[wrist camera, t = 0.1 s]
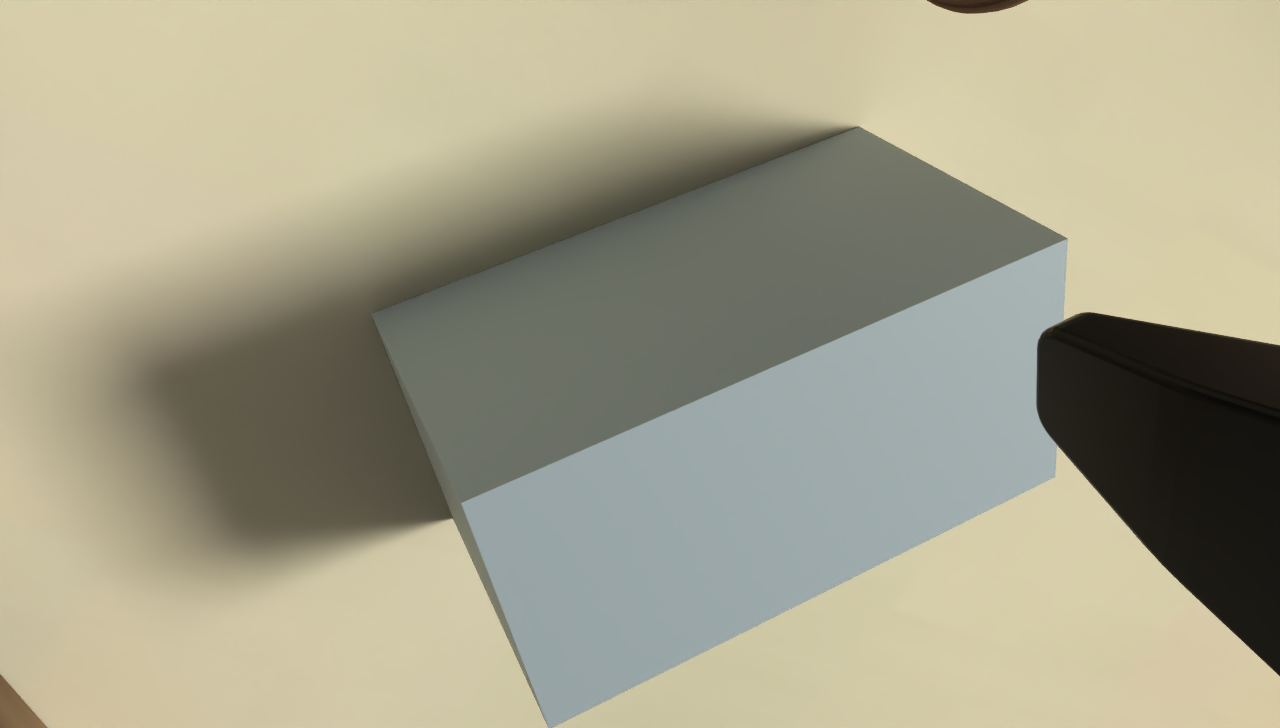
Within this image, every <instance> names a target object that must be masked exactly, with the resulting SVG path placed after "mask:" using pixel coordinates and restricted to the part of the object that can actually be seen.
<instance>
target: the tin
mask: <svg viewBox="0 0 1280 728" xmlns="http://www.w3.org/2000/svg"><path fill="white" fill-rule="evenodd" d="M927 1H929V2H931V3H933V4H934V5H936V6H939V7H942V8H944V9H947V10H950V11H954V12H959V13H967V14H968V13H987V12H995V11H1000V10H1004V9H1007V8H1011V7H1014V6H1017V5H1019V4H1021V3H1023V2H1025V1H1028V0H927Z"/></svg>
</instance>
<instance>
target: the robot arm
mask: <svg viewBox="0 0 1280 728" xmlns="http://www.w3.org/2000/svg"><path fill="white" fill-rule="evenodd" d="M1036 408H1037V412H1038V416H1039V419H1040V421H1041V424H1042V426H1043V427H1044V429H1045V431H1046V432H1047V433H1048V435H1049V436H1050V437H1051V439H1052V440H1053V441H1054V442H1055V443H1056V444H1057V445H1058V447H1059V448H1060V449H1061V450H1062V451H1063V452H1064V453H1065V455H1066V456H1067V457H1068V458H1069V459H1070V460H1071V462H1072V463H1073V464H1074V465H1075V466H1076V467H1077V468H1078V470H1079V471H1080V472H1081V473H1082V474H1083V475H1084V476H1085V478H1086V479H1087V480H1088V481H1089V482H1090V483H1091V485H1092V486H1093V487H1094V488H1095V489H1096V490H1097V491H1098V493H1099V494H1100V495H1101V496H1102V497H1103V498H1104V499H1105V501H1106V502H1107V503H1108V504H1109V505H1110V506H1111V508H1112V509H1113V510H1114V511H1115V512H1116V513H1117V514H1118V516H1119V517H1120V518H1121V519H1122V520H1123V521H1124V523H1125V524H1126V525H1127V526H1128V527H1129V528H1130V529H1131V531H1132V532H1133V533H1134V534H1135V535H1136V536H1137V537H1138V539H1139V540H1140V541H1141V542H1142V543H1143V544H1144V545H1145V547H1146V548H1147V549H1148V550H1149V551H1150V552H1151V553H1152V554H1153V555H1154V556H1155V557H1156V558H1157V559H1158V561H1159V562H1160V563H1161V564H1162V565H1163V566H1164V567H1165V568H1166V569H1167V570H1168V571H1169V572H1170V573H1171V574H1172V575H1173V576H1174V577H1175V578H1176V579H1177V580H1178V581H1179V582H1180V583H1181V584H1182V585H1183V586H1184V587H1185V588H1186V589H1188V590H1189V591H1190V592H1191V593H1192V594H1193V595H1194V596H1195V597H1196V598H1197V599H1198V600H1199V601H1200V602H1201V603H1202V604H1203V605H1205V606H1206V607H1207V608H1208V609H1209V610H1210V611H1211V612H1212V613H1213V614H1214V615H1215V616H1216V617H1217V618H1218V619H1219V620H1221V621H1222V622H1223V623H1224V624H1225V625H1226V626H1227V627H1228V628H1229V629H1230V630H1231V631H1232V632H1233V633H1234V634H1235V635H1237V636H1238V637H1239V638H1240V639H1241V640H1242V641H1243V642H1244V643H1245V644H1246V645H1247V646H1248V647H1249V648H1250V649H1251V650H1252V651H1254V652H1255V653H1256V654H1257V655H1258V656H1259V657H1260V658H1261V659H1262V660H1263V661H1264V662H1265V663H1266V664H1267V665H1268V666H1270V667H1271V668H1272V669H1273V670H1274V671H1275V672H1276V673H1277V674H1278V675H1279V676H1280V345H1275V344H1269V343H1263V342H1257V341H1252V340H1246V339H1240V338H1235V337H1229V336H1223V335H1218V334H1212V333H1206V332H1201V331H1195V330H1189V329H1184V328H1178V327H1172V326H1167V325H1161V324H1155V323H1149V322H1144V321H1138V320H1132V319H1127V318H1121V317H1115V316H1110V315H1104V314H1098V313H1091V312H1085V313H1080V314H1076V315H1074V316H1072V317H1070V318H1068V319H1066V320H1064V321H1062V322H1060V323H1057V324H1055V325H1053V326H1051V327H1049V328H1047V329H1046V330H1045V331H1044V332H1042V334H1041V336H1040V338H1039V340H1038V344H1037V378H1036Z"/></svg>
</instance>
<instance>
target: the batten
mask: <svg viewBox="0 0 1280 728" xmlns="http://www.w3.org/2000/svg"><path fill="white" fill-rule="evenodd" d="M0 728H47V727H46V726H45V725H44V724H43V722H42V721H41V720H40V719H39V718H38V717H37V716H36V714H35V713H34V712H33V711H32V710H31V709H30V708H29V706H28V705H27V704H26V703H25V702H24V701H23V700H22V699H21V697H20V696H19V695H18V694H17V693H16V692H15V691H14V689H13V688H12V687H11V686H10V685H9V684H8V683H7V681H6V680H5V679H4V678H3V677H2V676H1V675H0Z"/></svg>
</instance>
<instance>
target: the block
mask: <svg viewBox="0 0 1280 728" xmlns="http://www.w3.org/2000/svg"><path fill="white" fill-rule="evenodd" d="M1067 241H1068V239H1067V238H1066V237H1064V236H1062V235H1060V234H1058V233H1056V232H1054V231H1052V230H1051V229H1049V228H1047V227H1045V226H1043V225H1041V224H1039V223H1038V222H1036V221H1034V220H1032V219H1030V218H1028V217H1026V216H1025V215H1023V214H1021V213H1019V212H1017V211H1015V210H1013V209H1012V208H1010V207H1008V206H1006V205H1004V204H1002V203H1000V202H999V201H997V200H995V199H993V198H991V197H989V196H987V195H985V194H984V193H982V192H980V191H978V190H976V189H974V188H972V187H971V186H969V185H967V184H965V183H963V182H961V181H959V180H958V179H956V178H954V177H952V176H950V175H948V174H946V173H945V172H943V171H941V170H939V169H937V168H935V167H933V166H931V165H930V164H928V163H926V162H924V161H922V160H920V159H918V158H917V157H915V156H913V155H911V154H909V153H907V152H905V151H904V150H902V149H900V148H898V147H896V146H894V145H892V144H891V143H889V142H887V141H885V140H883V139H881V138H879V137H878V136H876V135H874V134H872V133H870V132H868V131H866V130H864V129H863V128H861V127H856V128H854V129H851V130H849V131H846V132H843V133H841V134H838V135H836V136H833V137H830V138H828V139H825V140H822V141H820V142H817V143H815V144H812V145H809V146H807V147H804V148H802V149H799V150H796V151H794V152H791V153H789V154H786V155H783V156H781V157H778V158H776V159H773V160H770V161H768V162H765V163H763V164H760V165H757V166H755V167H752V168H750V169H747V170H744V171H742V172H739V173H737V174H734V175H731V176H729V177H726V178H723V179H721V180H718V181H716V182H713V183H710V184H708V185H705V186H703V187H700V188H697V189H695V190H692V191H690V192H687V193H684V194H682V195H679V196H677V197H674V198H671V199H669V200H666V201H664V202H661V203H658V204H656V205H653V206H651V207H648V208H645V209H643V210H640V211H638V212H635V213H632V214H630V215H627V216H624V217H622V218H619V219H617V220H614V221H611V222H609V223H606V224H604V225H601V226H598V227H596V228H593V229H591V230H588V231H585V232H583V233H580V234H578V235H575V236H572V237H570V238H567V239H565V240H562V241H559V242H557V243H554V244H552V245H549V246H546V247H544V248H541V249H539V250H536V251H533V252H531V253H528V254H525V255H523V256H520V257H518V258H515V259H512V260H510V261H507V262H505V263H502V264H499V265H497V266H494V267H492V268H489V269H486V270H484V271H481V272H479V273H476V274H473V275H471V276H468V277H466V278H463V279H460V280H458V281H455V282H453V283H450V284H447V285H445V286H442V287H440V288H437V289H434V290H432V291H429V292H426V293H424V294H421V295H419V296H416V297H413V298H411V299H408V300H406V301H403V302H400V303H398V304H395V305H393V306H390V307H387V308H385V309H382V310H380V311H377V312H374V313H372V314H371V315H372V317H373V320H374V322H375V325H376V327H377V330H378V332H379V335H380V337H381V340H382V342H383V345H384V347H385V350H386V352H387V355H388V357H389V360H390V362H391V365H392V367H393V370H394V372H395V375H396V377H397V380H398V382H399V385H400V387H401V390H402V392H403V395H404V397H405V400H406V402H407V405H408V407H409V410H410V412H411V415H412V417H413V420H414V422H415V425H416V427H417V430H418V432H419V435H420V437H421V440H422V442H423V445H424V447H425V450H426V452H427V455H428V457H429V460H430V462H431V465H432V467H433V470H434V472H435V475H436V477H437V480H438V482H439V485H440V487H441V490H442V492H443V495H444V497H445V500H446V502H447V505H448V507H449V510H450V512H451V515H452V517H453V519H454V522H455V524H456V526H457V528H458V530H459V533H460V535H461V537H462V539H463V541H464V544H465V546H466V548H467V550H468V552H469V555H470V557H471V559H472V561H473V563H474V566H475V568H476V570H477V572H478V574H479V577H480V579H481V581H482V583H483V585H484V587H485V590H486V592H487V594H488V596H489V598H490V601H491V603H492V605H493V607H494V609H495V612H496V614H497V616H498V618H499V620H500V623H501V625H502V627H503V629H504V631H505V634H506V636H507V638H508V640H509V642H510V644H511V647H512V649H513V651H514V653H515V655H516V658H517V660H518V662H519V664H520V666H521V669H522V671H523V673H524V675H525V677H526V680H527V682H528V684H529V686H530V688H531V691H532V693H533V695H534V697H535V699H536V702H537V704H538V706H539V708H540V710H541V712H542V715H543V717H544V719H545V721H546V723H547V726H548V728H552V727H554V726H556V725H558V724H560V723H562V722H564V721H566V720H569V719H571V718H573V717H575V716H577V715H579V714H581V713H583V712H585V711H587V710H589V709H591V708H593V707H595V706H597V705H599V704H601V703H603V702H605V701H607V700H609V699H611V698H613V697H615V696H617V695H619V694H621V693H623V692H625V691H627V690H629V689H631V688H633V687H635V686H637V685H639V684H641V683H643V682H645V681H647V680H649V679H651V678H653V677H655V676H657V675H659V674H661V673H663V672H665V671H667V670H669V669H671V668H673V667H675V666H677V665H679V664H681V663H683V662H685V661H687V660H689V659H691V658H693V657H695V656H697V655H699V654H701V653H703V652H705V651H707V650H709V649H711V648H713V647H715V646H717V645H719V644H721V643H723V642H725V641H727V640H729V639H731V638H733V637H735V636H737V635H739V634H741V633H743V632H745V631H747V630H749V629H751V628H753V627H755V626H757V625H759V624H761V623H763V622H765V621H767V620H769V619H771V618H773V617H775V616H777V615H779V614H781V613H783V612H785V611H787V610H789V609H791V608H793V607H795V606H797V605H799V604H801V603H803V602H805V601H807V600H809V599H811V598H813V597H815V596H817V595H819V594H821V593H823V592H825V591H827V590H829V589H831V588H833V587H835V586H837V585H839V584H841V583H843V582H845V581H847V580H849V579H851V578H853V577H855V576H857V575H859V574H861V573H863V572H865V571H867V570H869V569H871V568H873V567H875V566H877V565H879V564H881V563H883V562H885V561H887V560H889V559H891V558H893V557H895V556H897V555H899V554H901V553H903V552H905V551H907V550H909V549H911V548H913V547H915V546H917V545H919V544H921V543H923V542H925V541H927V540H929V539H931V538H933V537H936V536H938V535H940V534H942V533H944V532H946V531H948V530H950V529H952V528H954V527H956V526H958V525H960V524H962V523H964V522H966V521H968V520H970V519H972V518H974V517H976V516H978V515H980V514H982V513H984V512H986V511H988V510H990V509H992V508H994V507H996V506H998V505H1000V504H1002V503H1004V502H1006V501H1008V500H1010V499H1012V498H1014V497H1016V496H1018V495H1020V494H1022V493H1024V492H1026V491H1028V490H1030V489H1032V488H1034V487H1036V486H1038V485H1040V484H1042V483H1044V482H1046V481H1048V480H1050V479H1052V478H1054V477H1055V470H1056V451H1057V444H1056V443H1055V442H1054V441H1053V440H1052V439H1051V437H1050V436H1049V435H1048V433H1047V432H1046V431H1045V429H1044V427H1043V426H1042V424H1041V421H1040V419H1039V416H1038V412H1037V408H1036V378H1037V344H1038V340H1039V338H1040V336H1041V334H1042V332H1044V331H1045V330H1046V329H1047V328H1049V327H1051V326H1053V325H1055V324H1057V323H1060V322H1062V321H1063V317H1064V298H1065V279H1066V260H1067Z"/></svg>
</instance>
